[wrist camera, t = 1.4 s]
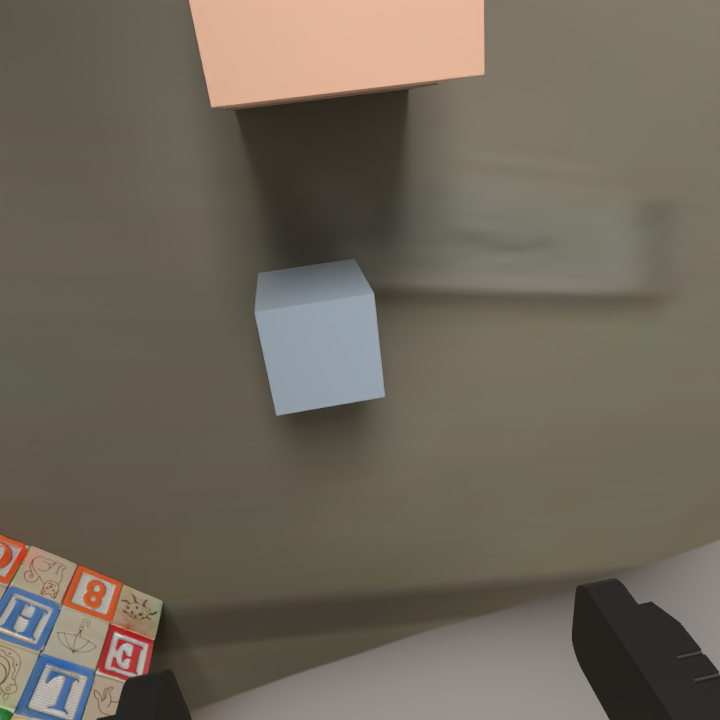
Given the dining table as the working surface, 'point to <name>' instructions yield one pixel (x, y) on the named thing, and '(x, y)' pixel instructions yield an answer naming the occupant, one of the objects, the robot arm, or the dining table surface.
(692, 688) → the robot arm
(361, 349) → the slate block
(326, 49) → the tower top
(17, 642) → the stack of blocks
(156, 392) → the dining table surface
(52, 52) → the dining table surface
